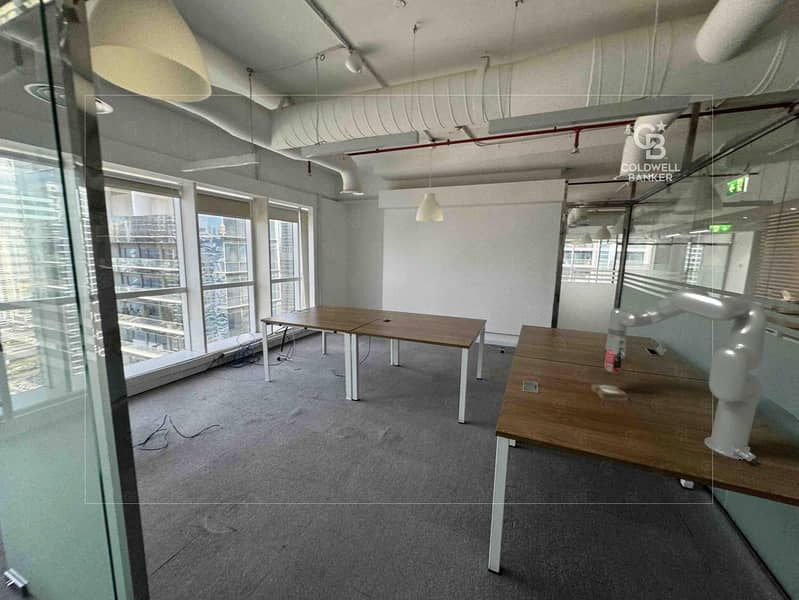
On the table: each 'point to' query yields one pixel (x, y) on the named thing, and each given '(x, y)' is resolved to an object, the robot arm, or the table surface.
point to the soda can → (610, 361)
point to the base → (609, 392)
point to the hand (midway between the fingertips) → (612, 364)
